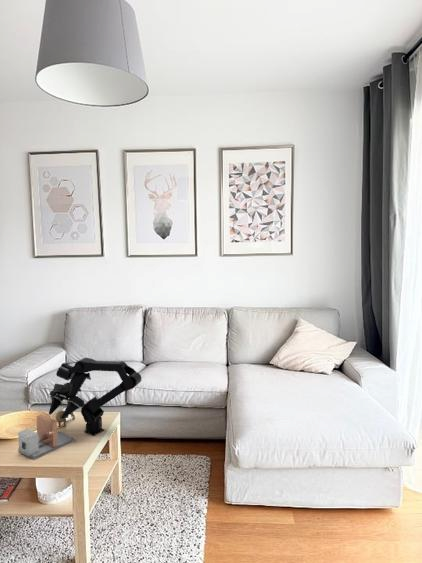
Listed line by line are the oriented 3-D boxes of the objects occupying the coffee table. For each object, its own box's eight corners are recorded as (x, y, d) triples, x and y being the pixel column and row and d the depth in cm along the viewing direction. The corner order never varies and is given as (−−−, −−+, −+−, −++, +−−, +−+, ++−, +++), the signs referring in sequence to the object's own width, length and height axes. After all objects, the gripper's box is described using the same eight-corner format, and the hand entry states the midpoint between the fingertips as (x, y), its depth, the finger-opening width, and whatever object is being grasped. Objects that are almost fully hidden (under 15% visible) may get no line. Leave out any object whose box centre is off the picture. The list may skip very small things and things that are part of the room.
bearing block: (28, 446, 158) (27, 428, 158) (38, 451, 154) (38, 433, 153) (18, 450, 155) (18, 432, 155) (29, 456, 150) (28, 437, 150)
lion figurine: (64, 430, 176) (64, 412, 175) (53, 430, 176) (53, 412, 175) (77, 417, 190) (76, 400, 190) (66, 417, 190) (66, 400, 190)
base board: (59, 433, 173) (58, 431, 172) (75, 440, 166) (74, 438, 166) (18, 451, 157) (18, 448, 157) (34, 459, 150) (34, 456, 150)
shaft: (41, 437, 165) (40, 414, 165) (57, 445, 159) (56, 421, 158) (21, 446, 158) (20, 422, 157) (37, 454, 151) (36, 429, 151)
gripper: (51, 372, 173) (30, 404, 164) (77, 378, 162) (55, 412, 154) (67, 384, 180) (48, 414, 171) (92, 390, 169) (73, 423, 161)
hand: (55, 416), depth 164 cm, fingers open, 9 cm apart
